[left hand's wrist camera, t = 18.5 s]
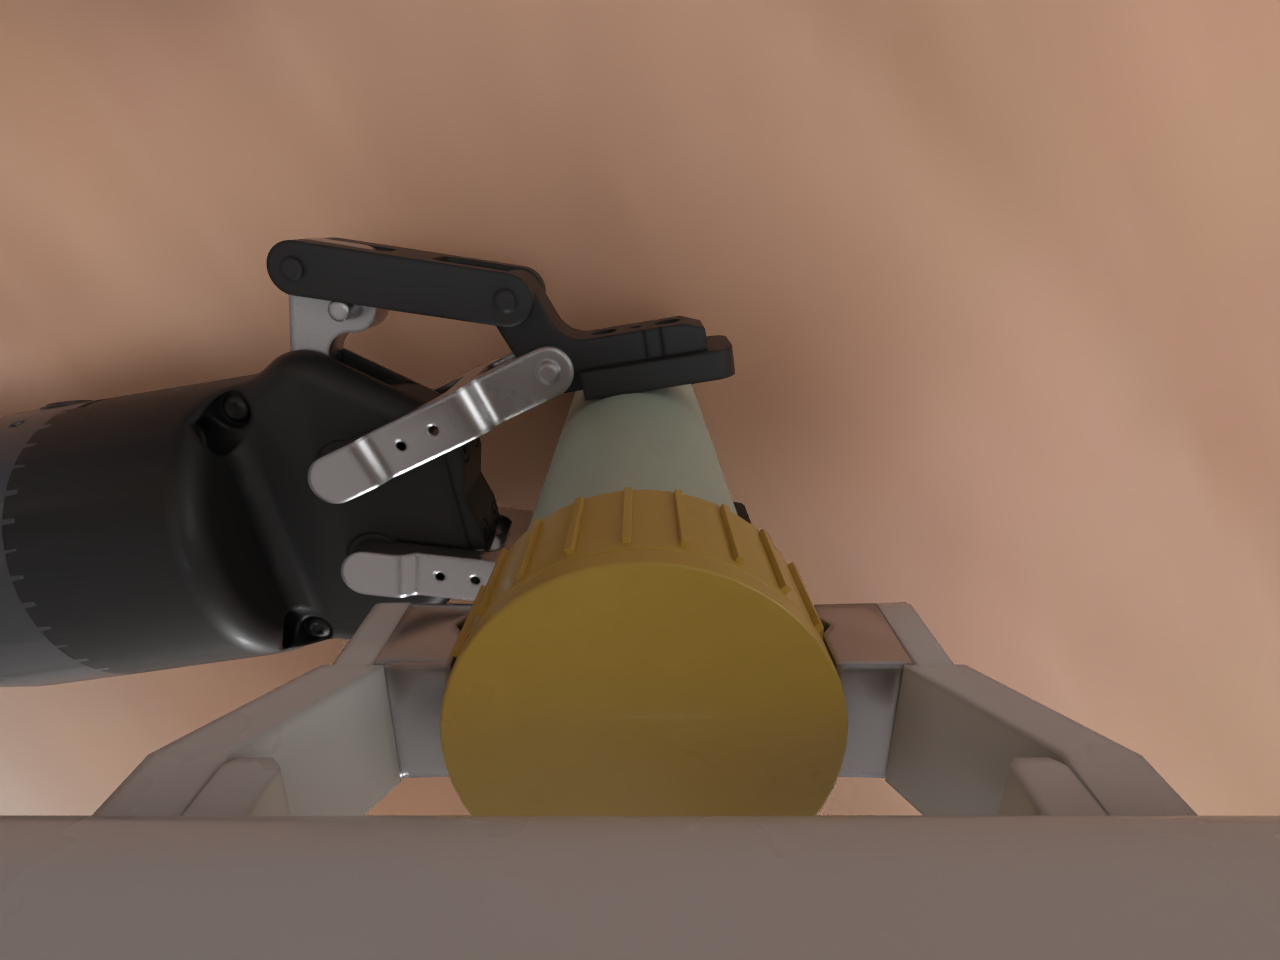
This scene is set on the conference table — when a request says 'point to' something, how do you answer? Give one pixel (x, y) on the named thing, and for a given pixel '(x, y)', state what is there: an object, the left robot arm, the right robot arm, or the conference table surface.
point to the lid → (643, 670)
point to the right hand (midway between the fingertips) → (736, 443)
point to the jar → (633, 450)
